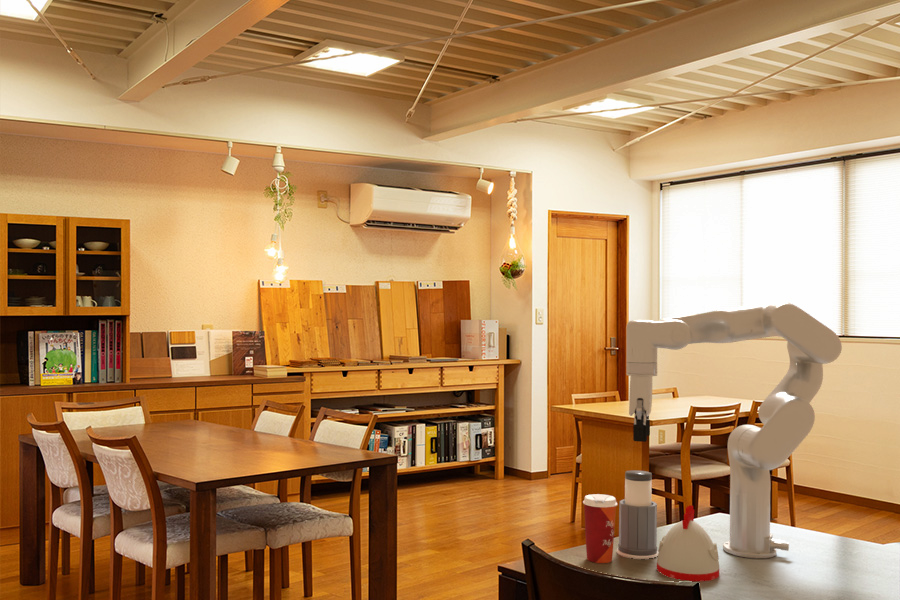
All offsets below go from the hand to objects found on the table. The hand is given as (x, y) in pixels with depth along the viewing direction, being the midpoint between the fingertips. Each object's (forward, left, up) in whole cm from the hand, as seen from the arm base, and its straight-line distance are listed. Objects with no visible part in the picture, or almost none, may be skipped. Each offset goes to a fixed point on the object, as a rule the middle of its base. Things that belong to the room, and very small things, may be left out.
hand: (641, 438), depth 208 cm
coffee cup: (+7, +11, -29) cm, 31 cm away
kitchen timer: (-14, +9, -29) cm, 33 cm away
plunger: (0, +1, -26) cm, 26 cm away
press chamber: (0, +1, -28) cm, 28 cm away
